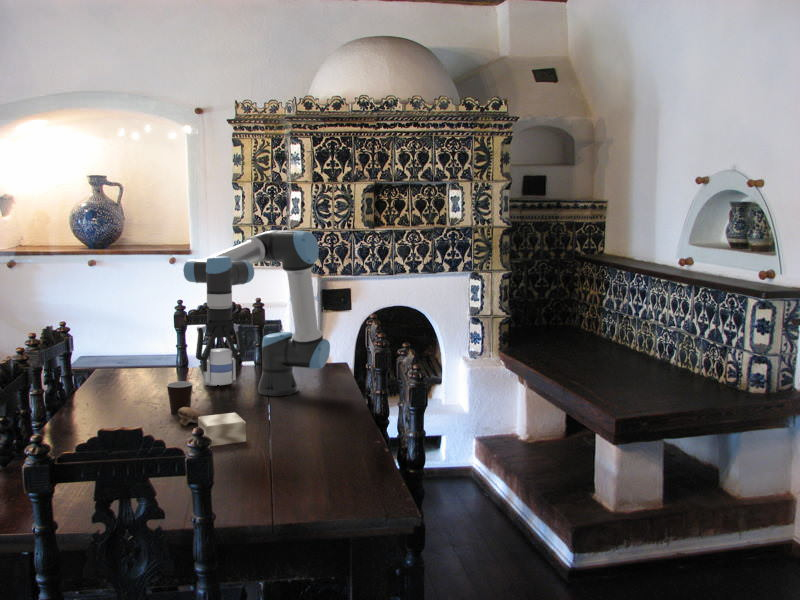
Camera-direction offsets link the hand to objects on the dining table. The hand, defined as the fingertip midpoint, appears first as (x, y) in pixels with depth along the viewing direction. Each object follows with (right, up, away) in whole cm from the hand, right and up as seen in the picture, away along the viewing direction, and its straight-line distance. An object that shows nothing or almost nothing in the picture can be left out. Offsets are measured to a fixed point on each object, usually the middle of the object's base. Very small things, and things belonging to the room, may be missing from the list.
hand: (220, 380), depth 232 cm
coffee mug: (-21, -15, +33) cm, 42 cm away
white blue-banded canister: (0, -1, 0) cm, 1 cm away
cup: (-20, -9, +75) cm, 78 cm away
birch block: (0, -18, +2) cm, 19 cm away
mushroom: (-15, -17, +17) cm, 28 cm away
